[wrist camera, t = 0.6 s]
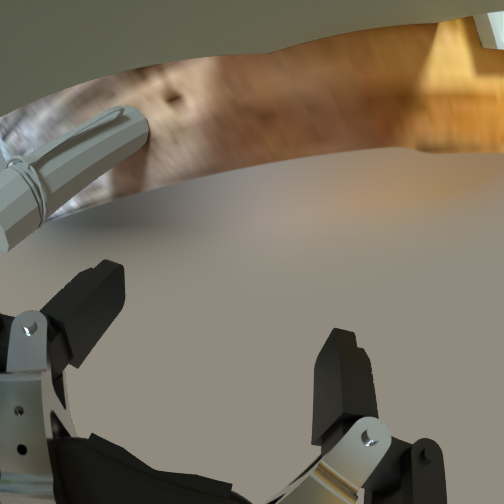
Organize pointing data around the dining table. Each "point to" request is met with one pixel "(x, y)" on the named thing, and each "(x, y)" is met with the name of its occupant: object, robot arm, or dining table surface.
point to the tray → (490, 29)
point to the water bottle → (64, 170)
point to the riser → (178, 33)
